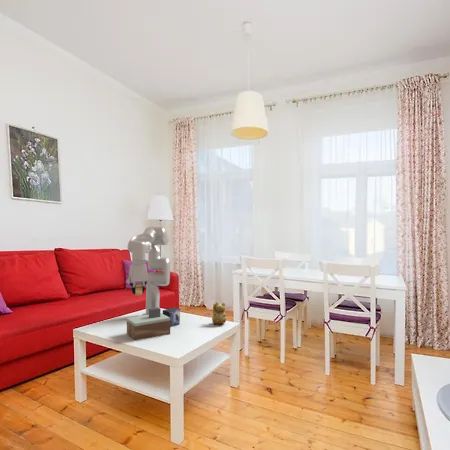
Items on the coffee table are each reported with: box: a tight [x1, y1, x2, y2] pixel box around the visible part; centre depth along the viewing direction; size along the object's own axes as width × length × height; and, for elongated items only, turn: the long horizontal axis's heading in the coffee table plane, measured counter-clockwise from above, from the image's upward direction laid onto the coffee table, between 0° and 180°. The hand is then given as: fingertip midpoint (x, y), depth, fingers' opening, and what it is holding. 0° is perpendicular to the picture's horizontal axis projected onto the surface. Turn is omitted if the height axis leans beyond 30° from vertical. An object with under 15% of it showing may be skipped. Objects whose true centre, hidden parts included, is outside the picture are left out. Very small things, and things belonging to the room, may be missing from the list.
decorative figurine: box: [211, 300, 227, 326], centre depth 216 cm, size 10×8×15 cm
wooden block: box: [133, 283, 143, 296], centre depth 191 cm, size 4×4×6 cm
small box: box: [162, 307, 181, 328], centre depth 212 cm, size 11×6×10 cm, turn 143°
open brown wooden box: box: [126, 320, 171, 341], centre depth 194 cm, size 14×22×8 cm, turn 125°
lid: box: [126, 307, 170, 326], centre depth 195 cm, size 14×22×6 cm, turn 127°
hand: (138, 293), depth 191 cm, fingers closed on wooden block, 4 cm apart
